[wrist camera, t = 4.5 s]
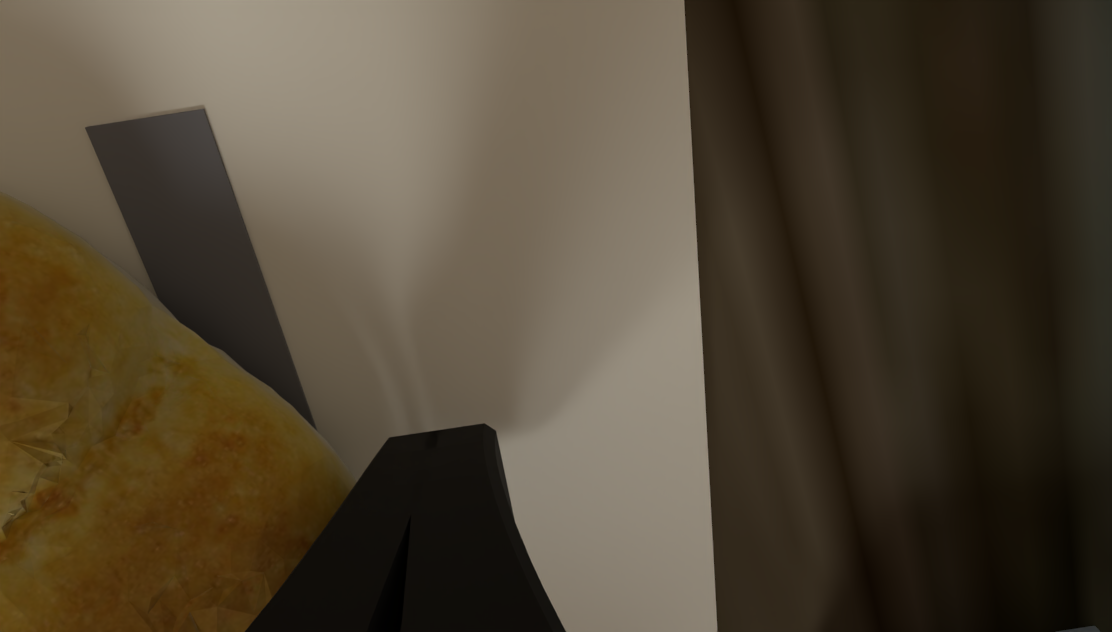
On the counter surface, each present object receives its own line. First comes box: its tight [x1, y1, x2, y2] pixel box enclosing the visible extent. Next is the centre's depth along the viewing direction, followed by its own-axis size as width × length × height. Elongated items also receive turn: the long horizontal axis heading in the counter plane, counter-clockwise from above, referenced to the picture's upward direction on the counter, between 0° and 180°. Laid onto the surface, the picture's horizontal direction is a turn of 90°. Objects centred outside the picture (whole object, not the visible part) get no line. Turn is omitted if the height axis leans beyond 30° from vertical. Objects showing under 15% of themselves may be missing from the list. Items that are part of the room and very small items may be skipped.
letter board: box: [0, 0, 717, 632], centre depth 10 cm, size 12×16×1 cm
